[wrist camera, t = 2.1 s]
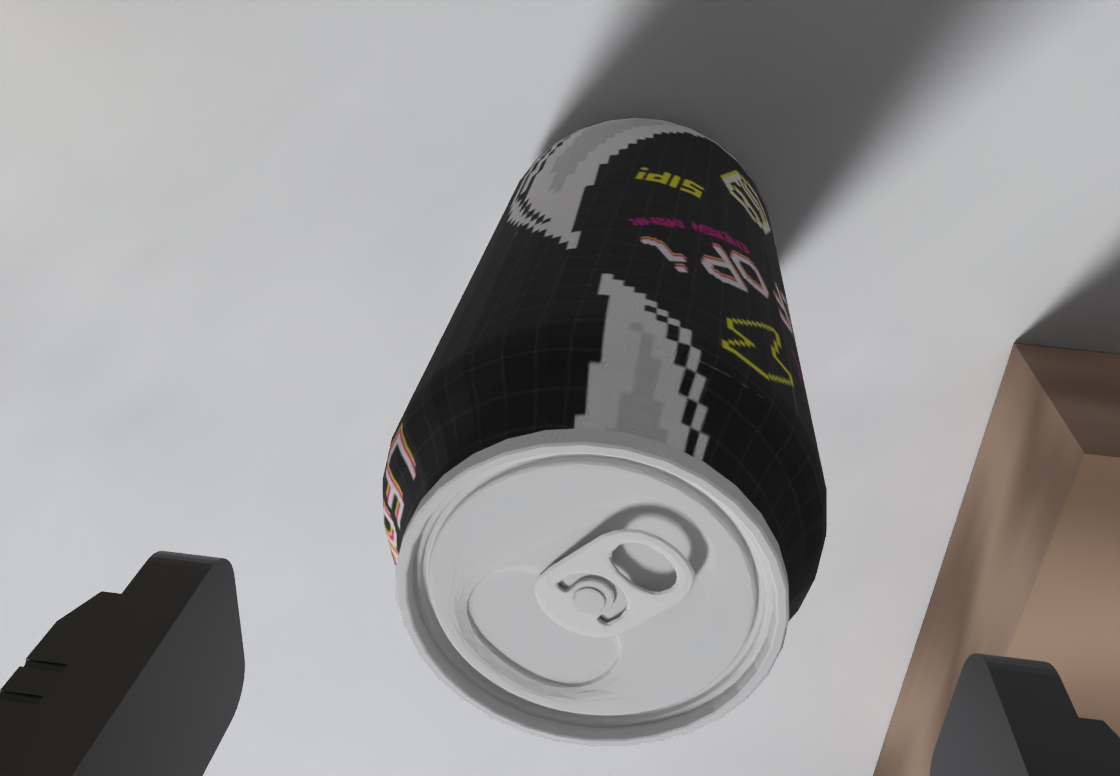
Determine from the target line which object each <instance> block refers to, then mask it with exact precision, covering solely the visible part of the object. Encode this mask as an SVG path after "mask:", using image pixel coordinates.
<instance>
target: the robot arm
mask: <svg viewBox="0 0 1120 776" xmlns="http://www.w3.org/2000/svg"><path fill="white" fill-rule="evenodd" d="M244 672H245V660H244V651H243V642H242V634H241V626H240V618H239V610H238V602H237V594H236V586H235V578H234V572H233V568H232V565H231V563H230V562H229V561H228V560H227V559H224V558H216V557H208V556H200V555H191V554H183V553H175V552H167V551H159V552H156V553H154V554H153V555H152V556H151V557H150V558H149V559H148V560H147V561H146V563H145V564H144V565H143V567H142V568H141V569H140V570H139V572H138V573H137V574H136V576H135V577H134V578H133V580H132V581H131V582H130V584H129V585H128V586H127V587H126V589H125V590H124V591H123V593H122V594H118V593H110V592H100V593H99V594H97V595H96V596H94V597H93V598H91V599H90V600H88V601H87V602H85V603H84V604H82V605H81V606H79V607H78V608H76V609H75V610H73V611H72V612H70V613H69V614H67V615H66V616H64V617H63V618H61V619H60V620H58V621H57V622H56V623H55V624H54V625H53V627H52V628H51V629H50V630H49V631H48V633H47V634H46V635H45V636H44V638H43V639H42V640H41V641H40V642H39V644H38V645H37V646H36V647H35V648H34V650H33V651H32V652H31V653H30V655H29V656H28V657H27V658H26V663H25V666H24V667H19V668H18V669H17V670H16V672H15V673H14V674H13V675H12V676H11V678H10V679H9V680H8V681H7V682H6V684H5V685H4V686H3V687H2V688H1V690H0V776H203V774H204V772H205V770H206V768H207V766H208V764H209V762H210V760H211V758H212V757H213V755H214V753H215V751H216V749H217V747H218V745H219V743H220V741H221V739H222V738H223V736H224V734H225V732H226V730H227V728H228V726H229V724H230V722H231V720H232V718H233V716H234V714H235V711H236V709H237V706H238V703H239V700H240V696H241V692H242V687H243V681H244ZM930 776H1120V737H1119V736H1118V735H1117V734H1116V733H1115V732H1114V731H1113V730H1112V729H1111V728H1110V727H1109V726H1108V725H1107V724H1106V723H1105V722H1104V721H1103V720H1096V719H1088V718H1080V717H1078V715H1077V713H1076V711H1075V708H1074V706H1073V704H1072V702H1071V700H1070V698H1069V695H1068V693H1067V691H1066V689H1065V687H1064V684H1063V682H1062V680H1061V678H1060V676H1059V674H1058V672H1057V670H1056V669H1055V668H1054V667H1053V666H1052V665H1051V664H1050V663H1048V662H1044V661H1036V660H1028V659H1020V658H1012V657H1004V656H996V655H987V654H979V653H973V654H971V655H970V656H969V657H968V658H967V659H966V661H965V663H964V665H963V668H962V671H961V673H960V676H959V679H958V682H957V685H956V688H955V691H954V693H953V696H952V699H951V702H950V705H949V708H948V711H947V714H946V716H945V719H944V722H943V725H942V728H941V731H940V734H939V737H938V739H937V742H936V745H935V748H934V751H933V755H932V760H931V766H930Z"/></svg>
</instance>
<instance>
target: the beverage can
mask: <svg viewBox="0 0 1120 776" xmlns="http://www.w3.org/2000/svg"><path fill="white" fill-rule="evenodd" d="M383 516H384V526H385V530H386V534H387V537H388V541H389V545H390V549H391V553H392V556H393V560H394V563H395V565H396V598H397V602H398V606H399V610H400V613H401V617H402V621H403V625H404V628H405V629H406V631H407V633H408V635H409V637H410V639H411V641H412V642H413V644H414V646H415V648H416V650H417V652H418V653H419V655H420V656H421V657H422V659H423V660H424V661H425V662H426V664H427V665H428V666H429V667H430V669H431V670H432V671H433V672H434V674H435V675H436V676H437V677H438V678H439V680H441V681H442V682H443V683H444V684H445V685H446V686H447V687H448V688H450V689H451V690H452V691H453V692H454V693H455V694H456V695H457V696H459V697H460V698H461V699H462V700H463V701H465V702H467V703H468V704H470V705H471V706H473V707H474V708H476V709H478V710H479V711H481V712H482V713H484V714H486V715H487V716H489V717H490V718H492V719H495V720H497V721H499V722H502V723H504V724H506V725H508V726H511V727H513V728H515V729H517V730H520V731H522V732H525V733H529V734H532V735H536V736H539V737H543V738H546V739H550V740H554V741H557V742H565V743H572V744H579V745H587V746H631V745H638V744H645V743H652V742H659V741H663V740H667V739H670V738H673V737H676V736H680V735H683V734H686V733H690V732H693V731H695V730H697V729H699V728H701V727H703V726H705V725H707V724H709V723H711V722H713V721H715V720H717V719H719V718H722V717H723V716H724V715H726V714H727V713H728V712H730V711H731V710H732V709H734V708H735V707H737V706H738V705H739V704H741V703H742V702H743V701H745V700H746V699H747V698H748V697H749V696H750V695H751V694H752V693H753V691H754V690H755V689H756V688H757V687H758V686H759V685H760V683H761V682H762V681H763V680H764V679H765V678H766V677H767V676H768V674H769V672H770V670H771V668H772V666H773V664H774V663H775V661H776V659H777V657H778V655H779V653H780V651H781V649H782V647H783V643H784V638H785V634H786V630H787V626H788V622H789V620H790V619H791V618H792V617H793V616H794V615H795V613H796V612H797V611H798V610H799V608H800V606H801V604H802V602H803V600H804V598H805V597H806V595H807V593H808V591H809V589H810V587H811V585H812V583H813V581H814V579H815V576H816V573H817V569H818V565H819V561H820V557H821V553H822V549H823V545H824V541H825V537H826V486H825V481H824V476H823V471H822V466H821V462H820V457H819V452H818V447H817V443H816V438H815V433H814V428H813V424H812V419H811V414H810V409H809V404H808V400H807V395H806V390H805V385H804V381H803V376H802V371H801V366H800V362H799V357H798V352H797V347H796V343H795V338H794V333H793V328H792V323H791V319H790V314H789V309H788V304H787V300H786V295H785V290H784V285H783V281H782V276H781V271H780V266H779V261H778V257H777V252H776V247H775V242H774V238H773V233H772V229H771V224H770V220H769V216H768V212H767V208H766V205H765V203H764V201H763V199H762V197H761V195H760V193H759V191H758V189H757V187H756V185H755V182H754V181H753V180H752V178H751V177H750V176H749V175H748V173H747V172H746V171H745V169H744V168H743V167H742V166H741V164H740V163H739V162H738V161H737V159H736V158H734V157H733V156H732V155H731V154H730V153H728V152H727V151H726V150H725V149H724V148H722V147H721V146H720V145H719V144H718V143H716V142H715V141H713V140H711V139H710V138H708V137H706V136H704V135H702V134H700V133H698V132H697V131H695V130H693V129H691V128H688V127H684V126H681V125H678V124H674V123H671V122H668V121H664V120H655V119H644V118H628V119H619V120H609V121H605V122H602V123H599V124H595V125H592V126H589V127H586V128H583V129H580V130H578V131H577V132H575V133H573V134H571V135H569V136H567V137H566V138H564V139H562V140H560V141H558V142H557V143H556V144H554V145H553V146H552V147H551V148H550V149H549V150H547V151H546V152H545V153H544V154H543V155H542V156H540V157H539V158H538V159H537V160H536V161H535V162H534V163H533V165H532V166H531V167H530V168H529V170H528V171H527V172H526V174H525V175H524V176H523V177H522V179H521V180H520V182H519V184H518V186H517V188H516V190H515V192H514V194H513V196H512V198H511V200H510V202H509V204H508V206H507V208H506V210H505V212H504V214H503V216H502V218H501V220H500V222H499V224H498V226H497V228H496V230H495V232H494V234H493V236H492V238H491V240H490V242H489V244H488V246H487V248H486V250H485V252H484V254H483V256H482V258H481V260H480V262H479V264H478V266H477V268H476V270H475V272H474V274H473V276H472V278H471V280H470V282H469V284H468V286H467V288H466V290H465V292H464V294H463V296H462V298H461V300H460V302H459V304H458V306H457V308H456V310H455V312H454V314H453V316H452V318H451V320H450V322H449V324H448V326H447V328H446V330H445V332H444V334H443V336H442V338H441V340H440V342H439V344H438V346H437V348H436V350H435V352H434V354H433V356H432V358H431V360H430V362H429V364H428V366H427V368H426V370H425V372H424V374H423V376H422V378H421V380H420V382H419V384H418V386H417V388H416V390H415V392H414V394H413V396H412V398H411V400H410V402H409V404H408V406H407V408H406V410H405V412H404V415H403V417H402V419H401V421H400V423H399V425H398V427H397V429H396V431H395V433H394V435H393V437H392V441H391V445H390V450H389V454H388V459H387V463H386V468H385V472H384V477H383Z"/></svg>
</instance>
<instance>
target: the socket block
mask: <svg viewBox="0 0 1120 776" xmlns="http://www.w3.org/2000/svg"><path fill="white" fill-rule="evenodd" d="M973 653H979V654H987V655H996V656H1004V657H1012V658H1020V659H1028V660H1036V661H1044V662H1048V663H1050V664H1051V665H1052V666H1053V667H1054V668H1055V669H1056V670H1057V672H1058V674H1059V676H1060V678H1061V680H1062V682H1063V684H1064V687H1065V689H1066V691H1067V693H1068V695H1069V698H1070V700H1071V702H1072V704H1073V706H1074V708H1075V711H1076V713H1077V715H1078V717H1080V718H1088V719H1096V720H1103V721H1104V722H1105V723H1106V724H1107V725H1108V726H1109V727H1110V728H1111V729H1112V730H1113V731H1114V732H1115V733H1116V734H1117V735H1118V736H1119V737H1120V354H1111V353H1102V352H1092V351H1083V350H1073V349H1064V348H1054V347H1045V346H1036V345H1026V344H1017V343H1014V345H1013V348H1012V351H1011V354H1010V357H1009V360H1008V363H1007V366H1006V369H1005V372H1004V375H1003V378H1002V382H1001V385H1000V388H999V391H998V394H997V397H996V400H995V403H994V406H993V409H992V412H991V415H990V418H989V421H988V424H987V428H986V431H985V434H984V437H983V440H982V443H981V446H980V449H979V452H978V455H977V458H976V461H975V464H974V467H973V471H972V474H971V477H970V480H969V483H968V486H967V489H966V492H965V495H964V498H963V501H962V504H961V507H960V510H959V513H958V517H957V520H956V523H955V526H954V529H953V532H952V535H951V538H950V541H949V544H948V547H947V550H946V553H945V556H944V560H943V563H942V566H941V569H940V572H939V575H938V578H937V581H936V584H935V587H934V590H933V593H932V596H931V599H930V602H929V606H928V609H927V612H926V615H925V618H924V621H923V624H922V627H921V630H920V633H919V636H918V639H917V642H916V645H915V648H914V652H913V655H912V658H911V661H910V664H909V667H908V670H907V673H906V676H905V679H904V682H903V685H902V688H901V691H900V695H899V698H898V701H897V704H896V707H895V710H894V713H893V716H892V719H891V722H890V725H889V728H888V731H887V734H886V737H885V741H884V744H883V747H882V750H881V753H880V756H879V759H878V762H877V765H876V768H875V771H874V774H873V776H930V766H931V760H932V755H933V751H934V748H935V745H936V742H937V739H938V737H939V734H940V731H941V728H942V725H943V722H944V719H945V716H946V714H947V711H948V708H949V705H950V702H951V699H952V696H953V693H954V691H955V688H956V685H957V682H958V679H959V676H960V673H961V671H962V668H963V665H964V663H965V661H966V659H967V658H968V657H969V656H970V655H971V654H973Z"/></svg>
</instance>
